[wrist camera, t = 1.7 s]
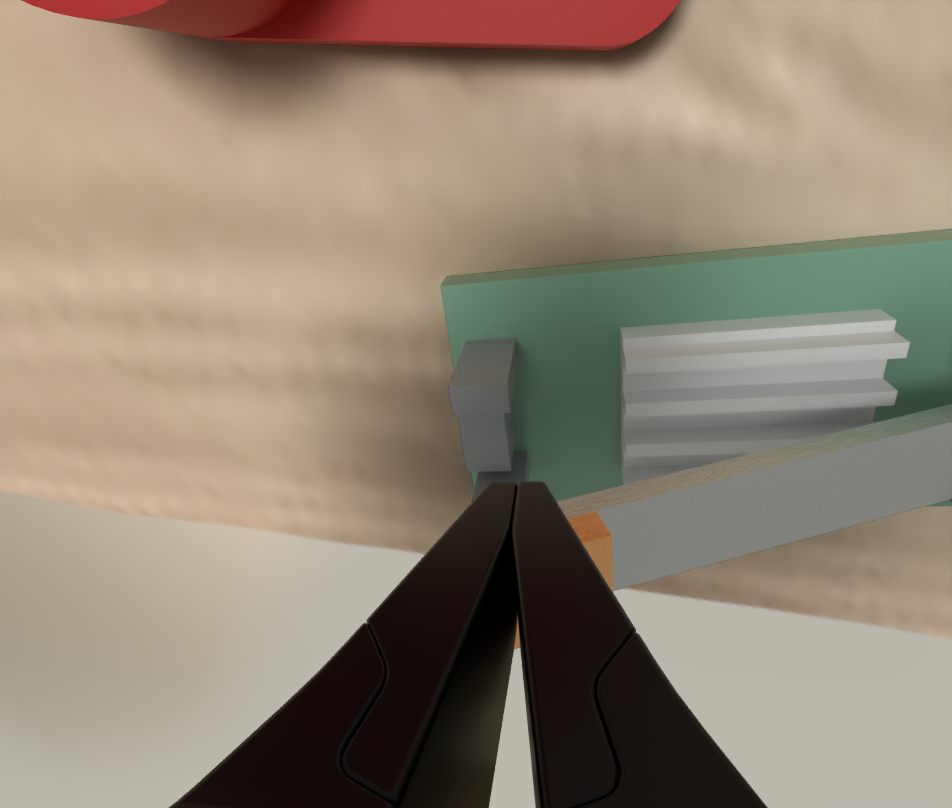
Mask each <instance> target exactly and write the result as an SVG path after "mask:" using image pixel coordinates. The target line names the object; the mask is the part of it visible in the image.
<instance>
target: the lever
mask: <svg viewBox="0 0 952 808" xmlns="http://www.w3.org/2000/svg"><path fill="white" fill-rule="evenodd" d="M22 1H24V2H26V3H28V4H31V5H33V6H36V7H39V8H42V9H45V10H48V11H51V12H54V13H59V14H63V15H68V16H73V17H78V18H84V19H91V20H97V21H104V22H110V23H116V24H123V25H129V26H135V27H142V28H148V29H154V30H161V31H167V32H173V33H180V34H186V35H192V36H199V37H205V38H212V39H218V40H224V41H231V42H241V43H273V44H316V45H358V46H401V47H444V48H486V49H529V50H571V51H612V50H617V49H621V48H624V47H627V46H629V45H631V44H633V43H635V42H637V41H638V40H640V39H641V38H643V37H644V36H646V35H647V34H648V33H650V32H651V31H653V30H654V29H655V28H657V27H658V26H659V25H660V24H661V23H662V22H663V21H664V20H665V19H666V18H667V17H668V16H669V15H670V14H671V12H672V11H673V10H674V9H675V7H676V6H677V4H678V3H679V1H680V0H22Z"/></svg>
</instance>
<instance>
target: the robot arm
mask: <svg viewBox="0 0 952 808" xmlns="http://www.w3.org/2000/svg"><path fill="white" fill-rule="evenodd" d="M517 622H518V626H519V639H520V648H521V659H522V670H523V680H524V691H525V701H526V712H527V722H528V733H529V743H530V753H531V763H532V773H533V785H534V794H535V805H536V808H767V806H766V805H765V804H764V803H763V801H762V800H761V799H760V798H759V796H758V795H757V794H756V793H755V791H754V790H753V789H752V788H751V786H750V785H749V784H748V783H747V781H746V780H745V779H744V778H743V776H742V775H741V774H740V773H739V771H738V770H737V769H736V768H735V766H734V765H733V764H732V763H731V761H730V760H729V759H728V758H727V756H726V755H725V754H724V753H723V751H722V750H721V749H720V748H719V746H718V745H717V744H716V743H715V741H714V740H713V739H712V738H711V736H710V735H709V734H708V733H707V731H706V730H705V729H704V727H703V726H702V725H701V723H700V722H699V721H698V720H697V718H696V717H695V716H694V714H693V713H692V712H691V710H690V709H689V708H688V706H687V705H686V704H685V702H684V701H683V700H682V698H681V697H680V696H679V695H678V693H677V692H676V691H675V689H674V687H673V686H672V685H671V683H670V681H669V680H668V678H667V677H666V675H665V674H664V673H663V671H662V670H661V668H660V667H659V665H658V664H657V662H656V660H655V659H654V658H653V656H652V654H651V653H650V651H649V650H648V648H647V646H646V645H645V643H644V641H643V640H642V638H641V637H640V635H639V634H638V633H636V629H635V627H634V626H633V624H632V623H631V621H630V619H629V618H628V616H627V615H626V613H625V611H624V610H623V608H622V606H621V605H620V603H619V602H618V600H617V598H616V597H615V595H614V594H613V592H612V590H611V589H610V587H609V585H608V584H607V582H606V581H605V579H604V577H603V576H602V574H601V573H600V571H599V569H598V568H597V566H596V564H595V563H594V561H593V560H592V558H591V556H590V555H589V553H588V552H587V550H586V548H585V547H584V545H583V544H582V542H581V540H580V539H579V537H578V535H577V534H576V532H575V531H574V529H573V527H572V526H571V524H570V523H569V521H568V519H567V518H566V516H565V514H564V513H563V511H562V510H561V508H560V506H559V505H558V503H557V502H556V500H555V498H554V497H553V495H552V494H551V492H550V490H549V489H548V487H547V485H546V484H545V483H544V482H541V481H522V482H520V483H518V485H517V484H516V483H515V482H512V481H495V482H491V483H489V484H488V485H487V486H486V488H485V489H484V490H483V491H482V492H481V493H480V494H479V495H478V497H477V498H476V499H475V500H474V501H473V502H472V503H471V504H470V505H469V507H468V508H467V509H466V510H465V511H464V512H463V513H462V514H461V515H460V517H459V518H458V519H457V520H456V521H455V522H454V523H453V524H452V525H451V527H450V528H449V529H448V530H447V531H446V532H445V533H444V534H443V535H442V537H441V538H440V539H439V540H438V541H437V542H436V543H435V544H434V545H433V547H432V548H431V549H430V550H429V551H428V552H427V553H426V554H425V555H424V557H423V558H422V559H421V560H420V561H419V562H418V563H417V564H416V566H415V567H414V568H413V569H412V570H411V571H410V572H409V573H408V574H407V576H406V577H405V578H404V579H403V580H402V581H401V582H400V584H399V585H398V586H397V587H396V588H395V589H394V590H393V591H392V592H391V593H390V595H389V596H388V597H387V598H386V599H385V600H384V601H383V603H381V604H380V606H379V607H378V608H377V609H376V610H375V611H374V612H373V613H372V615H371V616H370V617H369V618H368V619H367V624H366V623H364V624H362V626H360V628H359V629H358V630H357V631H356V632H355V633H354V634H353V635H352V636H351V637H350V639H349V640H348V641H347V642H346V643H345V644H344V645H343V646H342V647H341V648H340V649H339V650H338V651H337V653H336V654H335V655H334V656H333V657H332V658H331V659H330V660H329V661H328V662H327V663H326V664H325V665H324V666H323V668H321V669H320V671H318V673H317V674H315V675H314V676H313V677H312V678H311V679H310V680H309V681H308V682H307V683H306V684H305V685H304V686H303V687H302V688H301V689H300V690H299V691H298V692H297V693H296V694H295V695H293V696H292V697H291V698H290V699H289V700H288V701H287V702H286V703H285V704H284V705H283V706H282V707H281V708H280V709H279V710H277V712H275V713H274V714H273V715H272V716H271V717H270V718H269V719H268V720H267V721H265V722H264V723H263V724H262V725H261V726H260V727H259V728H258V729H257V730H256V731H254V732H253V733H252V734H251V735H250V736H249V737H248V738H247V739H246V740H245V741H244V742H242V743H241V744H240V745H239V746H238V747H237V748H236V749H235V750H234V751H233V752H232V753H231V754H229V755H228V756H227V757H226V758H225V759H224V760H223V761H222V762H221V763H220V764H218V765H217V766H216V767H215V768H214V769H213V770H212V771H211V772H210V773H209V774H208V775H206V776H205V777H204V778H203V779H202V780H201V781H200V782H199V783H198V784H197V785H195V786H194V787H193V788H192V789H191V790H190V791H189V792H187V793H186V794H185V795H184V796H183V797H181V798H180V799H179V800H178V801H177V802H175V803H174V804H173V805H172V806H170V807H169V808H489V802H490V796H491V790H492V783H493V777H494V771H495V765H496V759H497V752H498V746H499V740H500V733H501V727H502V721H503V714H504V708H505V702H506V696H507V689H508V683H509V676H510V671H511V664H512V658H513V652H514V645H515V639H516V631H517Z"/></svg>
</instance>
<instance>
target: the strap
mask: <svg viewBox="0 0 952 808" xmlns="http://www.w3.org/2000/svg"><path fill="white" fill-rule="evenodd" d="M949 499H952V404H950V405H945V406H941V407H937V408H933V409H929V410H925V411H921V412H917V413H913V414H909V415H905V416H901V417H897V418H893V419H889V420H885V421H881V422H877V423H873V424H868V425H864V426H860V427H856V428H852V429H848V430H844V431H840V432H836V433H832V434H828V435H824V436H820V437H816V438H812V439H808V440H804V441H800V442H796V443H791V444H787V445H783V446H779V447H775V448H771V449H767V450H763V451H759V452H755V453H751V454H747V455H743V456H739V457H735V458H731V459H727V460H723V461H718V462H714V463H710V464H706V465H702V466H698V467H694V468H690V469H686V470H682V471H678V472H674V473H670V474H666V475H662V476H658V477H654V478H650V479H646V480H641V481H637V482H633V483H629V484H625V485H621V486H617V487H613V488H609V489H605V490H601V491H597V492H593V493H589V494H585V495H581V496H577V497H573V498H569V499H564V500H560V501H556V502H557V503H558V505H559V506H560V508H561V510H562V511H563V513H564V514H565V516H566V518H567V519H568V521H569V523H570V524H571V526H572V527H573V529H574V531H575V532H576V534H577V535H578V537H579V539H580V540H581V542H582V544H583V545H584V547H585V548H586V550H587V552H588V553H589V555H590V556H591V558H592V560H593V561H594V563H595V564H596V566H597V568H598V569H599V571H600V573H601V574H602V576H603V577H604V579H605V581H606V582H607V584H608V585H609V587H610V589H611V590H612V592H613V591H615V590H618V589H622V588H626V587H629V586H633V585H637V584H640V583H644V582H648V581H651V580H655V579H659V578H662V577H666V576H670V575H674V574H677V573H681V572H685V571H688V570H692V569H696V568H699V567H703V566H707V565H710V564H714V563H718V562H721V561H725V560H729V559H732V558H736V557H740V556H743V555H747V554H751V553H754V552H758V551H762V550H765V549H769V548H773V547H776V546H780V545H784V544H788V543H791V542H795V541H799V540H802V539H806V538H810V537H813V536H817V535H821V534H824V533H828V532H832V531H835V530H839V529H843V528H846V527H850V526H854V525H857V524H861V523H865V522H868V521H872V520H876V519H879V518H883V517H887V516H890V515H894V514H898V513H901V512H905V511H909V510H913V509H916V508H920V507H924V506H927V505H931V504H935V503H938V502H942V501H946V500H949ZM517 648H520V639H519V626H518V622H517V631H516V639H515V645H514V649H517Z"/></svg>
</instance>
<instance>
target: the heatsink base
mask: <svg viewBox="0 0 952 808" xmlns="http://www.w3.org/2000/svg"><path fill="white" fill-rule="evenodd" d="M441 292H442V298H443V304H444V310H445V316H446V323H447V329H448V335H449V341H450V347H451V353H452V359H453V365H454V374H453V376H452V379H451V381H450V384H449V387H448V388H449V394H450V399H451V405H452V411H453V415H457V417H458V423H459V429H460V435H461V441H462V447H463V453H464V458H465V464H466V470H467V472H471V475H472V481H473V487H474V493H473V498H472V502H473V501H474V500H475V499H476V498H477V497H478V495H479V494H480V493H481V492H482V491H483V490H484V489H485V488H486V486H487V485H488V484H489V483H491V482H495V481H512V482H515V483H516V484H517V485H518V483H520V482H522V481H541V482H544V483H545V484H546V485H547V487H548V489H549V490H550V492H551V494H552V495H553V497H554V498H555V500H556V501H560V500H564V499H569V498H573V497H577V496H581V495H585V494H589V493H593V492H597V491H601V490H605V489H609V488H613V487H617V486H621V485H625V484H629V483H633V482H637V481H641V480H646V479H650V478H654V477H658V476H662V475H666V474H670V473H674V472H678V471H682V470H686V469H690V468H694V467H698V466H702V465H706V464H710V463H714V462H718V461H723V460H727V459H731V458H735V457H739V456H743V455H747V454H751V453H755V452H759V451H763V450H767V449H771V448H775V447H779V446H783V445H787V444H791V443H796V442H800V441H804V440H808V439H812V438H816V437H820V436H824V435H828V434H832V433H836V432H840V431H844V430H848V429H852V428H856V427H860V426H864V425H868V424H873V423H877V422H881V421H885V420H889V419H893V418H897V417H901V416H905V415H909V414H913V413H917V412H921V411H925V410H929V409H933V408H937V407H941V406H945V405H950V404H952V229H946V230H935V231H925V232H914V233H903V234H893V235H882V236H871V237H861V238H850V239H839V240H829V241H818V242H808V243H797V244H786V245H776V246H765V247H754V248H744V249H733V250H722V251H712V252H701V253H690V254H680V255H669V256H658V257H648V258H637V259H626V260H616V261H605V262H594V263H584V264H573V265H562V266H552V267H541V268H530V269H520V270H509V271H498V272H488V273H477V274H466V275H456V276H447V277H446V278H445V280H444V282H443V283H442V285H441ZM472 502H471V503H472ZM927 506H952V499H949V500H946V501H942V502H938V503H935V504H931V505H927Z"/></svg>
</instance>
